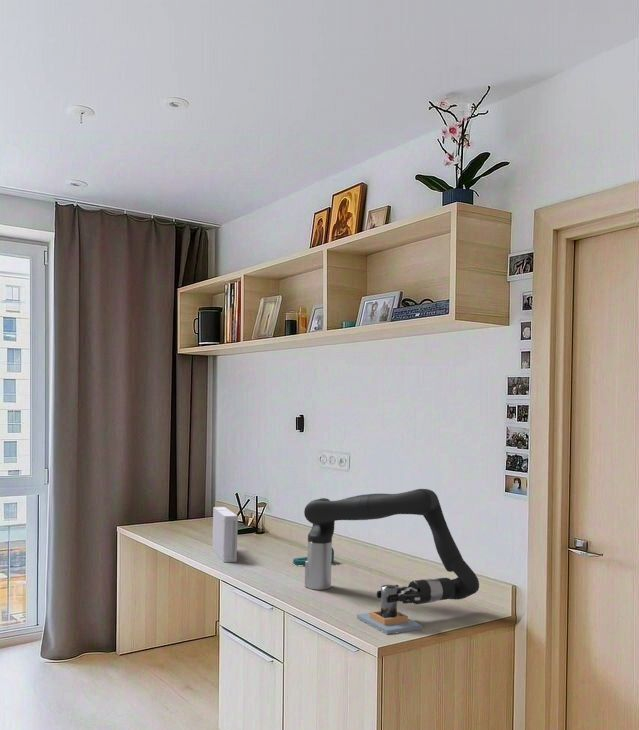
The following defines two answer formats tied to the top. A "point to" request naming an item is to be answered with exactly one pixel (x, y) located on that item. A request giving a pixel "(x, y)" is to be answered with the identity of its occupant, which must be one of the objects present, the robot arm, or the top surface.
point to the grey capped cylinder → (386, 607)
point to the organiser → (389, 622)
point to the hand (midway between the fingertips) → (382, 596)
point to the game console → (225, 534)
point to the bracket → (302, 560)
